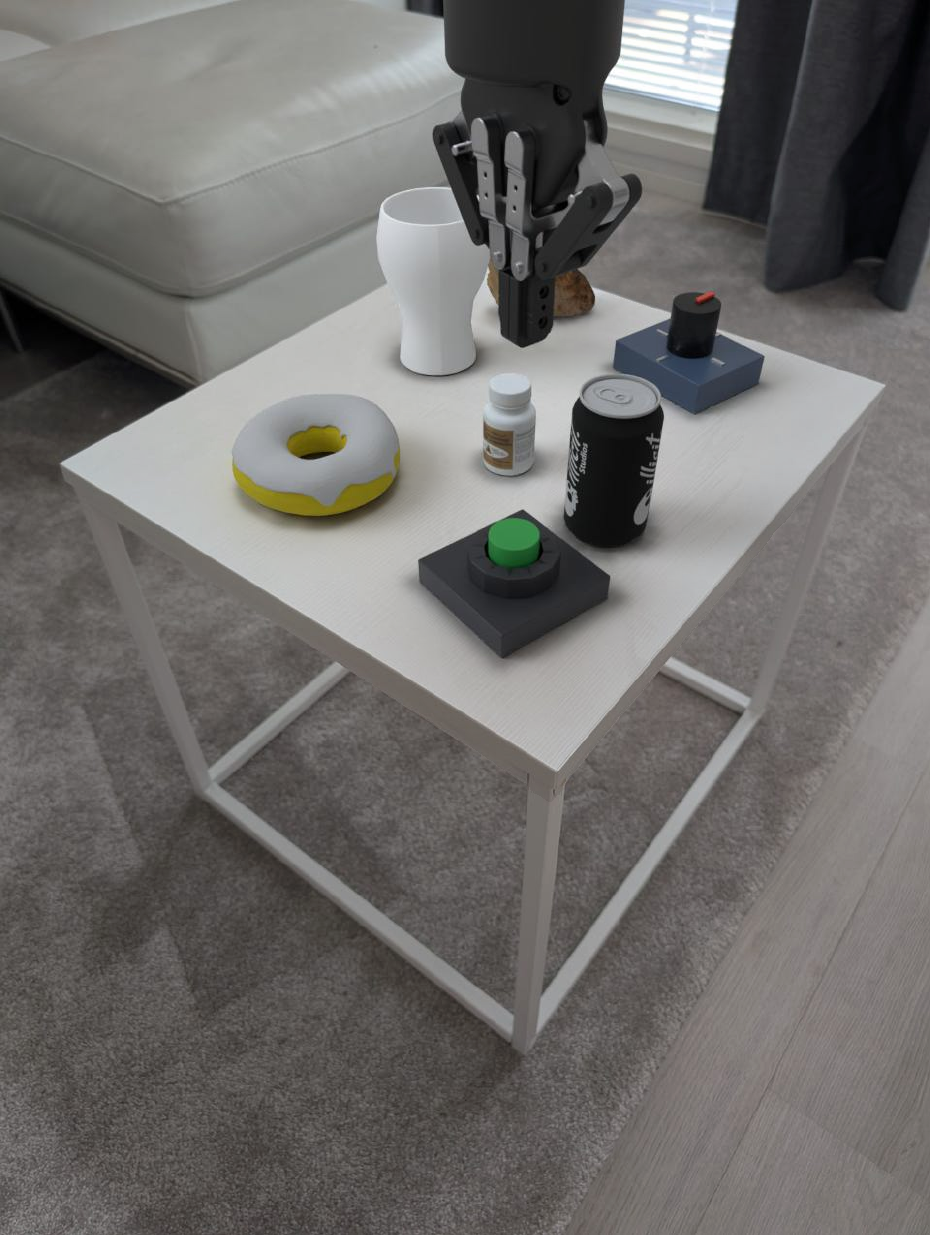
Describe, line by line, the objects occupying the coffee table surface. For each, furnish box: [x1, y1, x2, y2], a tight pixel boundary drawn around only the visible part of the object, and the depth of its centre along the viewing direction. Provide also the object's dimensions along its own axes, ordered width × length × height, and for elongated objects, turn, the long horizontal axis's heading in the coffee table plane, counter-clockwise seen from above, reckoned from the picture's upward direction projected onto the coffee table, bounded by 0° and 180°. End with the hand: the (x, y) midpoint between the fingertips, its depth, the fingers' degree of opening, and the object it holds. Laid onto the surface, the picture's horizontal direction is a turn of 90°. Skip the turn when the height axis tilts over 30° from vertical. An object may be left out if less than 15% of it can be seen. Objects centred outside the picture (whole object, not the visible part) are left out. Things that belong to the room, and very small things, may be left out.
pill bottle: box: [482, 372, 537, 477], centre depth 76 cm, size 4×4×8 cm
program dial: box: [666, 291, 722, 358], centre depth 86 cm, size 4×4×5 cm
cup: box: [375, 186, 490, 376], centre depth 87 cm, size 11×11×15 cm
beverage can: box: [563, 373, 665, 549], centre depth 68 cm, size 7×7×12 cm
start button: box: [488, 518, 540, 569], centre depth 64 cm, size 4×4×2 cm
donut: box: [231, 393, 401, 517], centre depth 76 cm, size 14×14×5 cm
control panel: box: [612, 318, 766, 415], centre depth 88 cm, size 11×9×3 cm
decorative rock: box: [486, 232, 596, 317], centre depth 96 cm, size 12×6×11 cm, turn 105°
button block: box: [417, 508, 611, 658], centre depth 66 cm, size 10×10×4 cm
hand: (524, 338), depth 48 cm, fingers closed
